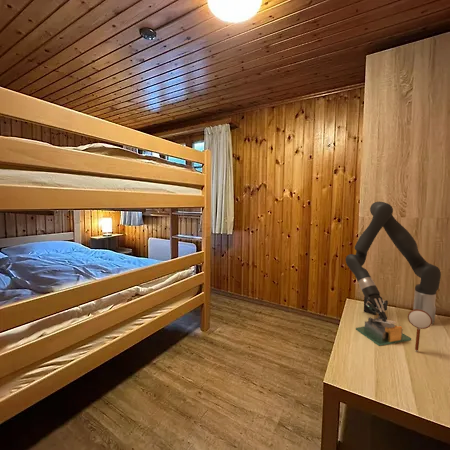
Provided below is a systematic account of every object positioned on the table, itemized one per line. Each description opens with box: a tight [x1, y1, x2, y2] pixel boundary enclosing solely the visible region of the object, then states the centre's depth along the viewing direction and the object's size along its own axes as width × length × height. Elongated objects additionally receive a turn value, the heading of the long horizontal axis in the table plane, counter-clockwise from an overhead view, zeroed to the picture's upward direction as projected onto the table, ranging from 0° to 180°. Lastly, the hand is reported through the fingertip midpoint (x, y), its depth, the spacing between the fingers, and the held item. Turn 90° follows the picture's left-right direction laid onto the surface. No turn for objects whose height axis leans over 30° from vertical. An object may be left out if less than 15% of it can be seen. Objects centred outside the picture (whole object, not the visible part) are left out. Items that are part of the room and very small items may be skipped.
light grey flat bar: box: [372, 317, 397, 324], centre depth 128 cm, size 4×11×1 cm, turn 14°
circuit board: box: [355, 315, 412, 347], centre depth 128 cm, size 19×15×8 cm
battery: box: [363, 295, 377, 316], centre depth 152 cm, size 7×4×11 cm, turn 47°
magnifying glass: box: [407, 309, 433, 352], centre depth 114 cm, size 9×2×20 cm, turn 49°
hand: (385, 320), depth 127 cm, fingers closed
